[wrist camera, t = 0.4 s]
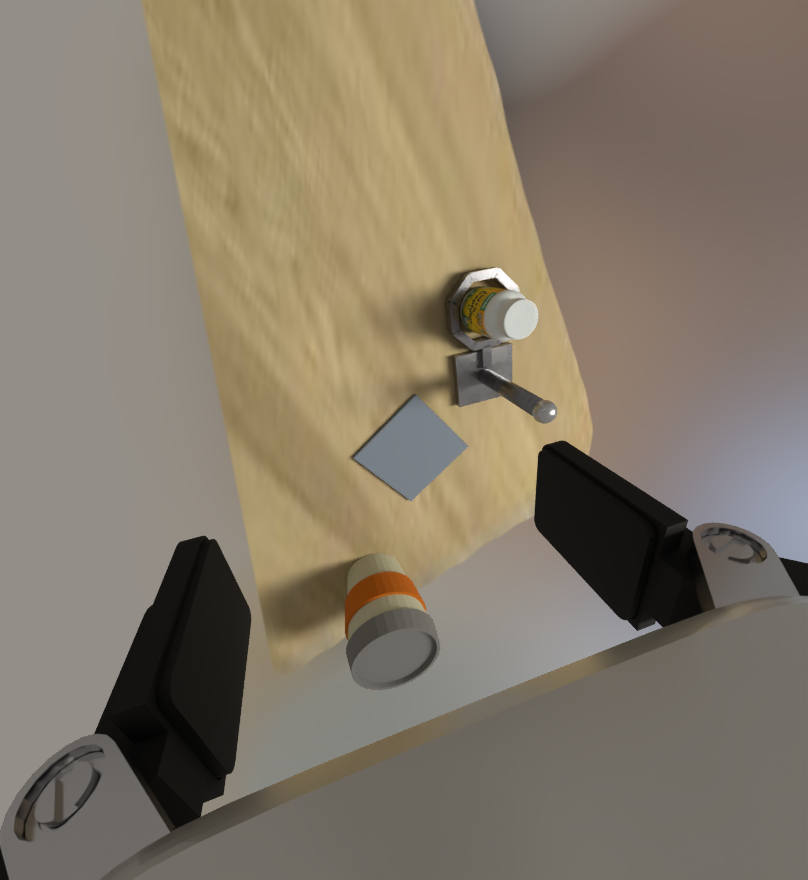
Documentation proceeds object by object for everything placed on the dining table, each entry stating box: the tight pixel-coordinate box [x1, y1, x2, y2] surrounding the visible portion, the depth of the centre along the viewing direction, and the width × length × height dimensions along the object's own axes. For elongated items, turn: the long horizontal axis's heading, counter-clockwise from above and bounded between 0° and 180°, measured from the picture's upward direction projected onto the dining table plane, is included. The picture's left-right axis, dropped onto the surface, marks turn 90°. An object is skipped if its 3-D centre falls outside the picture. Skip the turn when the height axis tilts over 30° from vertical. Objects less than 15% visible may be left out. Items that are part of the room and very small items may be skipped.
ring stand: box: [446, 267, 557, 423], centre depth 40 cm, size 16×9×15 cm, turn 9°
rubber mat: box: [353, 394, 468, 501], centre depth 51 cm, size 12×12×1 cm
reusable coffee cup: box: [345, 553, 440, 690], centre depth 53 cm, size 12×13×15 cm
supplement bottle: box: [460, 287, 538, 341], centre depth 41 cm, size 5×5×10 cm
